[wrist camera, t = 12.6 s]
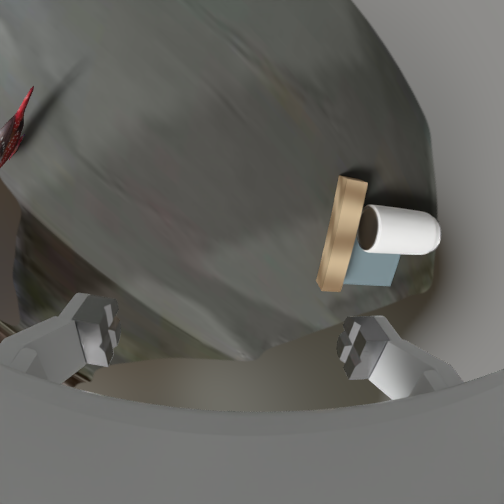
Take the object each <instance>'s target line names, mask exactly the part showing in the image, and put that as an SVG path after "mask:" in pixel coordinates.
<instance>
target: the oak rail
mask: <svg viewBox="0 0 504 504" xmlns="http://www.w3.org/2000/svg"><path fill="white" fill-rule="evenodd" d="M367 185H368V183H367V182H364V181H362V180H360V179H356V178H351V177H346V176H341V175H339V178H338V184H337V189H336V194H335V199H334V204H333V209H332V214H331V219H330V223H329V228H328V232H327V237H326V241H325V246H324V250H323V254H322V259H321V263H320V267H319V271H318V275H317V279H316V282H317V283H318V285H319V287H320V289H321V291H333V292H341V289H342V285H343V282H344V278H345V275H346V271H347V268H348V264H349V261H350V257H351V253H352V249H353V246H354V242H355V238H356V234H357V230H358V225H359V221H360V217H361V213H362V208H363V204H364V199H365V195H366V190H367Z"/></svg>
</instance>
